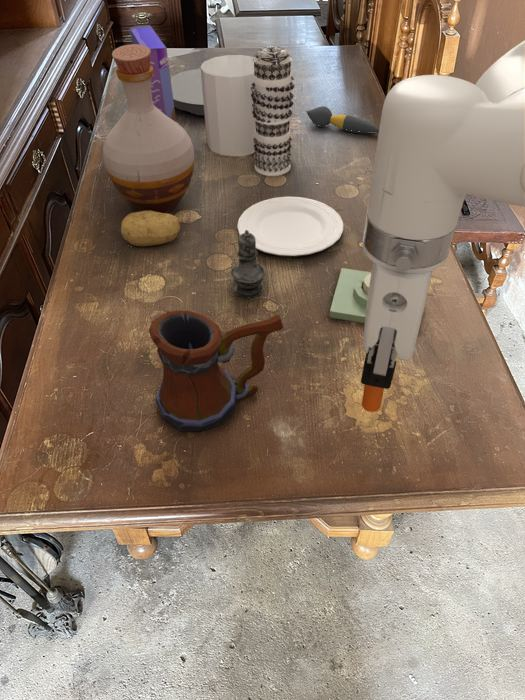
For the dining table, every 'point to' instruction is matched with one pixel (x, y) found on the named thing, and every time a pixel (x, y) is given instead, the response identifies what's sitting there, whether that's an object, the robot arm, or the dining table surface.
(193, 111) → the flat disc
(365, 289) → the circle pad
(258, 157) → the decorative candle
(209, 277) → the dining table surface
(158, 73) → the cereal box
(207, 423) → the mug
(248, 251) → the chess piece
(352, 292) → the push button block
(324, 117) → the paintbrush
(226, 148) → the container
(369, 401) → the marker
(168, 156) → the jug
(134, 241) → the potato
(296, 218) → the plate
